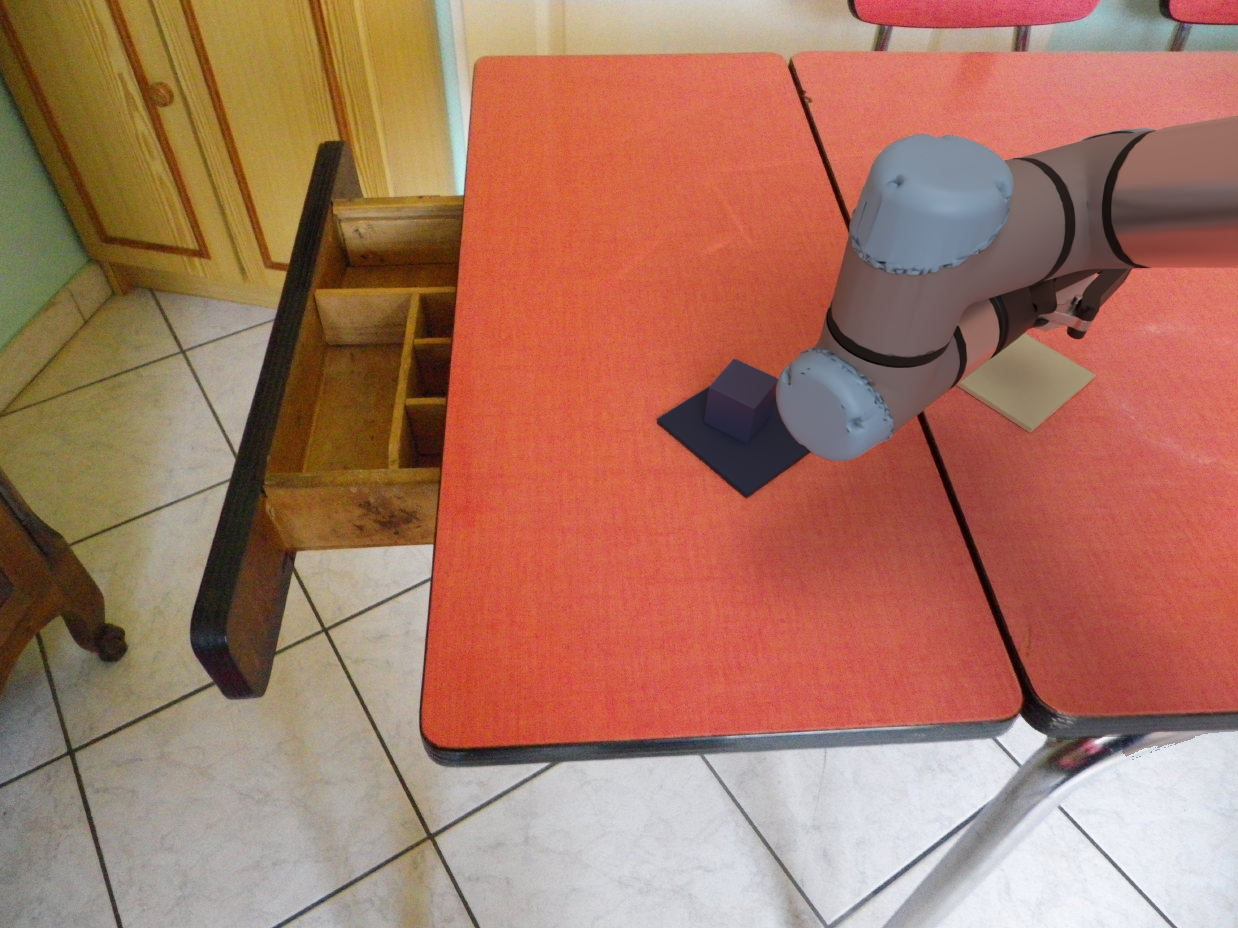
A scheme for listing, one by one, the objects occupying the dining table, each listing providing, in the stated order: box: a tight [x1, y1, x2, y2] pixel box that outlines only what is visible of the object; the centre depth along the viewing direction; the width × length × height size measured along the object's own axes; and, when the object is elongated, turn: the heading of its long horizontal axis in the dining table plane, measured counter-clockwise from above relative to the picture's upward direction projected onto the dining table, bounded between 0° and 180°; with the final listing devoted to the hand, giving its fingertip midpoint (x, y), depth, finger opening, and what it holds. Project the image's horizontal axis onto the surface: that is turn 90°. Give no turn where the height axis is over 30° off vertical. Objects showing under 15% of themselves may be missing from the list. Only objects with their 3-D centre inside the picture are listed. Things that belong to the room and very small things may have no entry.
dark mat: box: [656, 386, 811, 499], centre depth 75 cm, size 11×11×1 cm
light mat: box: [956, 332, 1096, 434], centre depth 80 cm, size 11×11×1 cm
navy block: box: [704, 358, 779, 444], centre depth 73 cm, size 4×4×4 cm
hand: (1119, 204), depth 71 cm, fingers closed on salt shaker, 3 cm apart
